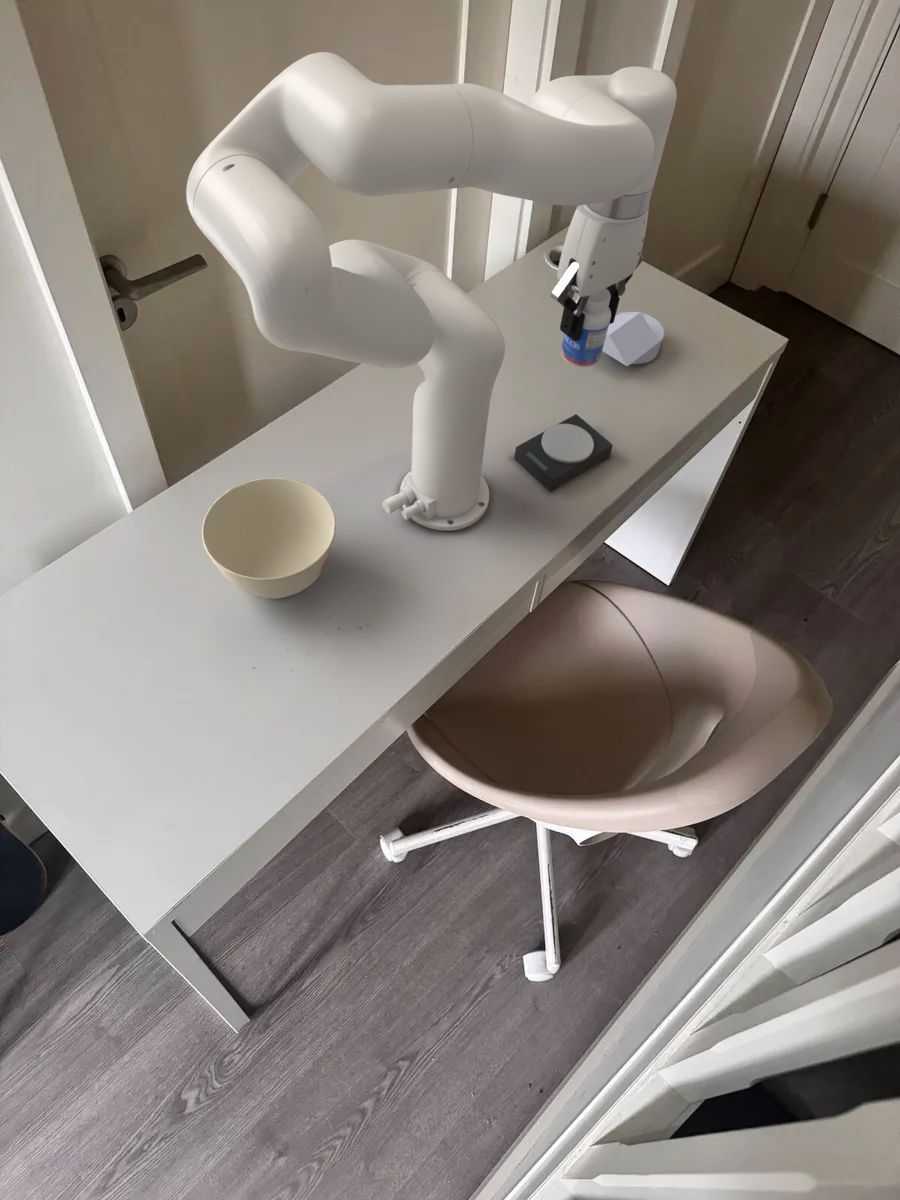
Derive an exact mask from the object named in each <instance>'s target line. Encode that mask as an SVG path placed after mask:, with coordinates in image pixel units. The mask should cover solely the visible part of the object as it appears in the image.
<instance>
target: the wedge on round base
mask: <svg viewBox="0 0 900 1200" xmlns="http://www.w3.org/2000/svg"><path fill="white" fill-rule="evenodd" d="M664 334H665V331H664V328H663V326H662V324H661V323H660V322H659V321H658V320H657V319H655V318H654V317H653V316H650V315H649V314H646V313H643V312H642V311H623V312H621V313H618V314H617V313H616V315H615V319H614V322H613V323H612V324H609V327H608V330H607V334H606V338H605V342H604V345H603V349H602V353H604V354H606V355H608V356H609V357H611V358H613V359H614V360H615V361H618V362H619V363H621V364H622V365H624V366H626V367H628V366H630V365H631V364H632V365H640V364H646V363H649V362H652V361H653V360H654V359H655V358H656V357H657V356H658V353H659V351H660V348H661V344H662V341H663V339H664V336H665V335H664Z"/></svg>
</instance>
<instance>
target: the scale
mask: <svg viewBox="0 0 900 1200" xmlns="http://www.w3.org/2000/svg"><path fill="white" fill-rule="evenodd" d="M613 447H614V444H613V443H611V442H610V441H609V440H607V438H605V437H604V436H603V435H602V434H601V433H600V432H598V431H597V430H596V429H595V428H594V427H592V426H591V425H590V424H589V423H587V421H585V420H584V419H583V418H581V417H580V416H579V415H578V414H577V413H575V414H574V415H572V416H570V417H568V418H566V419H564V420H562V421H561V422H559V423H557V424H554V425H551V426H550V427H548V428H547V429H546V430H544V431H543V432H541V433H539V434H537V435H535V436H533V437H531V438H530V439H528V440H526V441H524V442H522V443H521V444H519V445H517V446H516V447H515V450H514V458H513V460H515V461H516V462H517V463H518V464H519V465H520V466H521V467H522V468H523V469H525V471H526V472H528V473H529V474H530V475H531V476H532V477H533V478H534V479H535V480H536V481H538V482H539V483H540V484H541V485H542V486H543V487H544V488H545V489H546V490H547V491H548V492H550V493H552V492H553V491H554V490H556V489H558V488H560V487H562V486H563V485H564V484H567V483H568V482H570V481H571V480H573V479H575V478H577V477H579V476H580V475H582V474H583V473H586V472H587V471H589V470H590V469H592V468H593V467H595V466H597V465H599V464H600V463H602V462H604V461H605V460H607V459H609V458H610V457H611V454H612V450H613Z"/></svg>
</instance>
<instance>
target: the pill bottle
mask: <svg viewBox="0 0 900 1200" xmlns="http://www.w3.org/2000/svg"><path fill="white" fill-rule="evenodd" d="M579 298H580V296H579V295H577V299H576V300H574V301H575V302H576V303H577V302H578V300H579ZM610 298H611V295H610V292H609V291H608V290H607V289H606V288H605V289H603V290H600V291H598V292H596V293H594V294H591V295H590V297H589V299H588V301H587V303H586V306H585V308H584V310H583V312H582V313H584V314H585V319H584V324H583V328H582V332H581V337H580V340H578V341H576V342H575V341H573V340H572V339H571V338H570V337H568V336H567V335H566V334H564V333H563V339H562V342H561V348H560V354H561V356H562V358H563V360H564V361H565V362H567V363H568V364H569V365H572V366H575V367H579V368H588V367H593V366H594V365H596V364H597V363H598V362H599V360H600V359H601V356H602V353H603V351H602V349H603V345H604V342H605V338H606V334H607V330H608V327H609V323H610V319H611V311H610V308H609V307H608V306H609V302H610Z"/></svg>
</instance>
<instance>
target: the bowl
mask: <svg viewBox="0 0 900 1200" xmlns="http://www.w3.org/2000/svg"><path fill="white" fill-rule="evenodd" d="M336 530H337V521H336V515H335V512H334V510H333V508H332V505H331V503H330V502H329V501H328V500H327V498H326V497H325V495H323V494H322V493H321V492H319V491H318V490H317V489H316V488H314V487H312V486H310V485H309V484H307V483H304V482H301V481H299V480H294V479H291V478H284V477H264V478H256V479H251V480H249V481H245V482H243V483H240V484H238V485H236V486H234V487H231V488H230V489H228V490H227V491H225V492H224V493H223V494H221V495H220V496H219V497H217V499H216V500H215V501H214V502H213V503H212V504H211V506H210V507H209V509H208V510H207V512H206V514H205V516H204V519H203V522H202V527H201V539H202V543H203V547H204V550H205V551H206V554H207V555H208V556H209V558H210V560H211V561H212V562H213V564H214V565H215V566H216V568H217V570H218V571H220V573H221V574H222V575H223V577H224V578H225V579H226V580H227V581H228V582H229V583H230V584H232V586H234V588H237V590H239V591H242V592H243V593H245V594H247V595H250V596H253V597H257V598H260V599H261V598H262V599H282V598H286V597H287V598H288V597H290V596H293V595H295V594H298V593H300V592H302V591H304V590H305V589H308V587H309V586H311V585H312V584H313V583H314V582H315V581H316V580H318V578H319V577H320V575H322V573H323V571H324V570H325V567H326V566H327V563H328V561H329V558H330V555H331V552H332V548H333V544H334V540H335V536H336Z"/></svg>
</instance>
